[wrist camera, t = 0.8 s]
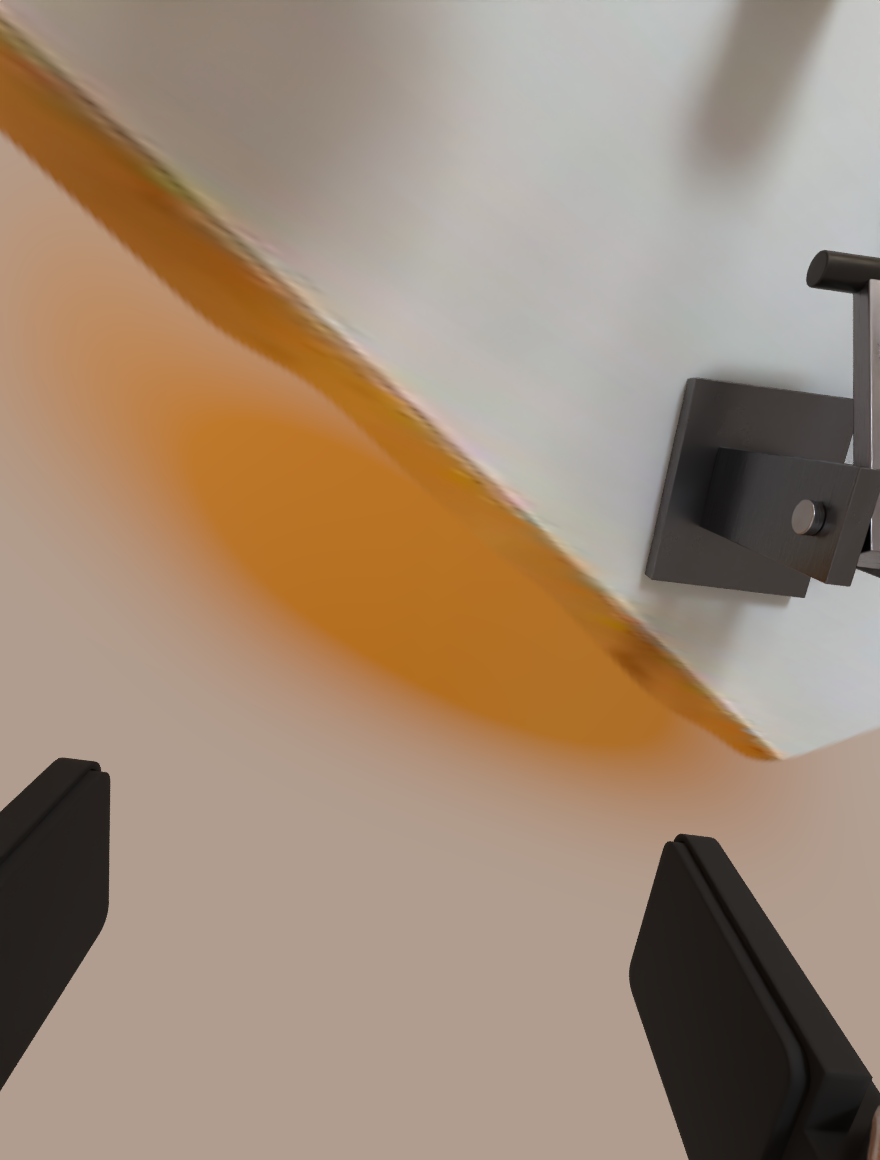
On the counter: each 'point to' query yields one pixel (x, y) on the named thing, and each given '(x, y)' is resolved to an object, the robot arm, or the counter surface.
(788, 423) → the lever bracket
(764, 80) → the counter surface
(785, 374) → the counter surface
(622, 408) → the counter surface
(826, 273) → the lever handle
